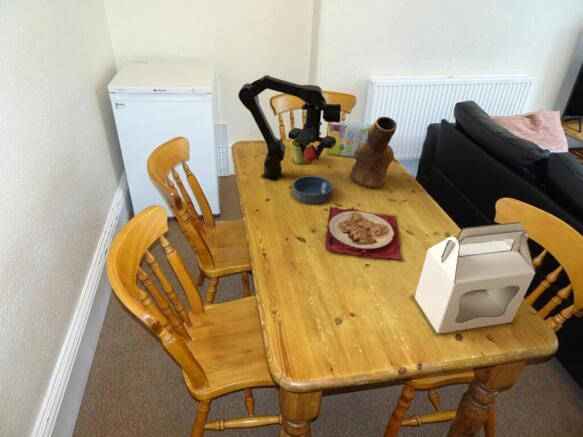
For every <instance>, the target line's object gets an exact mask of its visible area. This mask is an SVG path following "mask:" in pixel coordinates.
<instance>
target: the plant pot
mask: <svg viewBox="0 0 583 437" xmlns="http://www.w3.org/2000/svg"><path fill="white" fill-rule="evenodd" d="M311 144H313V143H310V144H309V145H308V146H310V145H311ZM290 145H291V147H292V153H293V161H294V163H296V164H298V165H299V164H300V165H304V164H306V163H308V162H309V161H307V160H306V159H305V157H304V156H303V154H302V151H301V148H300V145H299V144H298V143H297V142H295V141H294V140H292V141H291V142H290ZM308 146H306V148H307V147H308Z"/></svg>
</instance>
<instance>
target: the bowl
mask: <svg viewBox="0 0 583 437" xmlns="http://www.w3.org/2000/svg"><path fill="white" fill-rule="evenodd" d="M332 195H333V184H332V183H331V181H329V180H328V179H327V178H324V177H321V176H316V175H306V176H301V177H299V178H296V179H295V180H294V181H293V183H292V196H293V197H294V198H295V199H296V200H297V201H298V202H301V203H305V204H309V205H315V204H316V205H317V204H323V203H326V202H328V201H329V200H330V199H331V198H332Z"/></svg>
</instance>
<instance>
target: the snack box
mask: <svg viewBox="0 0 583 437" xmlns="http://www.w3.org/2000/svg"><path fill="white" fill-rule="evenodd" d="M372 124H373V123H364V122H363V123H362V122H353V121H344V120H340V123H338V122H331V124H330V134H329V136H331V137H335V139H336V144H335V145H334V146H333V147H331V148H330V149H328V154H329V155H334V156H342V157H351V158H355V157H354V153H355V151H356V150H357V148H358V147H360V146H361V145H362V144H364V143H366V141H367V138H368V131H369V128H370V126H371V125H372Z"/></svg>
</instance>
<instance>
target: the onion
mask: <svg viewBox="0 0 583 437" xmlns="http://www.w3.org/2000/svg"><path fill="white" fill-rule="evenodd" d="M316 155H317V147H315V145H314V143H312V144H311V145H310V146H308V147H307V148H306V149H305V150H304V157H305V159H306V160H307V161H308V162H309V163H312V162H314V161H317V160H316Z"/></svg>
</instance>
